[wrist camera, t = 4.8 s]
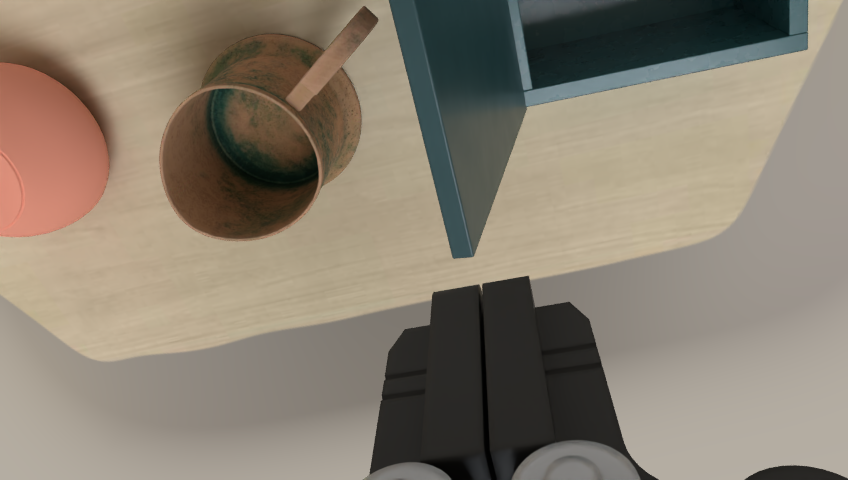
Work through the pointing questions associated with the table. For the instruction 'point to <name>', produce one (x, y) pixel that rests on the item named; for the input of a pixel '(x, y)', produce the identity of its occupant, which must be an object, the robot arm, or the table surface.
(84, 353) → the table surface
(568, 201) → the table surface
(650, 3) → the teal storage bin
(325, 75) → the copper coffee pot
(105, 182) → the sugar bowl
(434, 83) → the lid
